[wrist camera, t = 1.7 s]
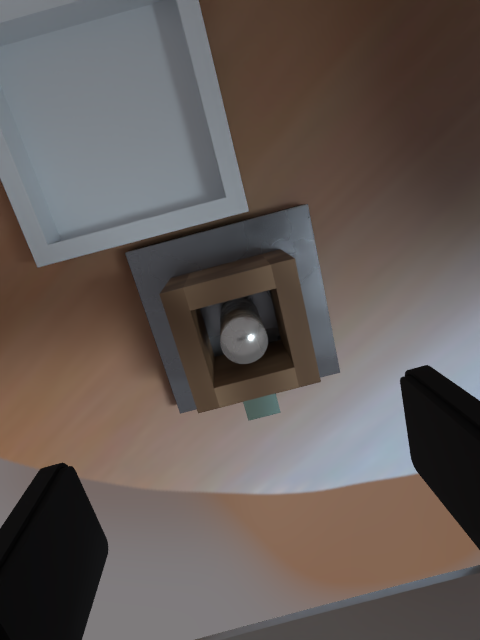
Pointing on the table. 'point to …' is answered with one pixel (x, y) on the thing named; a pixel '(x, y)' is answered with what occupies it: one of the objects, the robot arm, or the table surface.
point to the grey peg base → (242, 313)
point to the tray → (111, 124)
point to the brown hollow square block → (280, 356)
